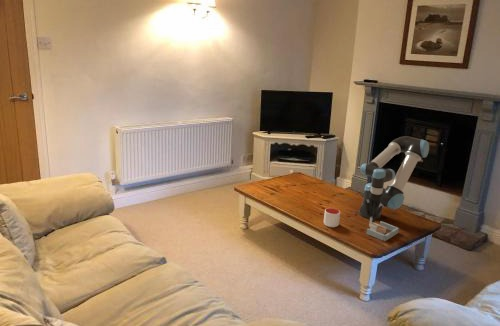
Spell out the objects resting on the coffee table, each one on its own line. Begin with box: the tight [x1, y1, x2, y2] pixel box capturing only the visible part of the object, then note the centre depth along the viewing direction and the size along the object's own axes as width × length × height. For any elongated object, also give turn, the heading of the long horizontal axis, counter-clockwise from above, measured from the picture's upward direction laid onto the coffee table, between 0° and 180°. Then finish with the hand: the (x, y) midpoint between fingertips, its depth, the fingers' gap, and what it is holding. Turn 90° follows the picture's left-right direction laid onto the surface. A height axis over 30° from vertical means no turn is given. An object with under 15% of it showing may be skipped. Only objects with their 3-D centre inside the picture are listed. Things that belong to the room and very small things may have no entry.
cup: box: [323, 207, 341, 228], centre depth 274 cm, size 10×10×10 cm
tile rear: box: [369, 222, 380, 231], centre depth 270 cm, size 4×4×4 cm
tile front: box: [376, 224, 387, 235], centre depth 267 cm, size 4×4×4 cm
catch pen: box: [365, 221, 400, 242], centre depth 266 cm, size 13×18×4 cm
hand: (370, 225), depth 272 cm, fingers closed
